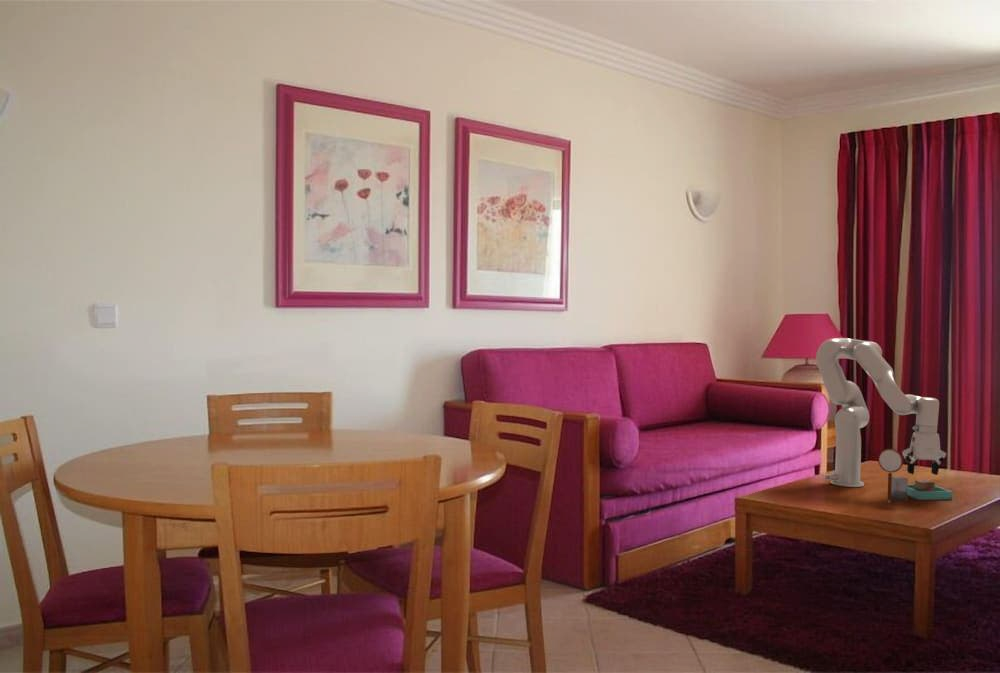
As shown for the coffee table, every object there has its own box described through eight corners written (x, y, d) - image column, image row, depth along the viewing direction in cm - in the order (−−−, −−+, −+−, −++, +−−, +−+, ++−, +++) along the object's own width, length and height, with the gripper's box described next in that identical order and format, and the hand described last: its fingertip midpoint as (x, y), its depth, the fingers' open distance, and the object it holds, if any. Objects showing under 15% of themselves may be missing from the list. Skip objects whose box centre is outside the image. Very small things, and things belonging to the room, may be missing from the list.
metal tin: (895, 501, 332) (895, 479, 331) (886, 497, 338) (887, 476, 337) (910, 501, 332) (911, 479, 332) (901, 497, 338) (902, 476, 338)
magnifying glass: (902, 504, 326) (903, 450, 325) (900, 505, 325) (902, 450, 324) (877, 500, 332) (879, 447, 331) (876, 501, 330) (877, 447, 330)
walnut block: (922, 495, 339) (922, 482, 339) (914, 492, 344) (915, 480, 344) (934, 495, 340) (934, 482, 340) (926, 492, 345) (927, 480, 345)
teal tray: (917, 499, 335) (918, 491, 335) (898, 492, 348) (898, 484, 348) (952, 499, 336) (952, 491, 336) (931, 492, 350) (931, 484, 349)
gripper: (910, 430, 337) (906, 475, 338) (953, 432, 339) (949, 476, 340) (899, 427, 344) (895, 470, 345) (941, 428, 346) (938, 472, 347)
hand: (922, 473), depth 343 cm, fingers open, 9 cm apart
